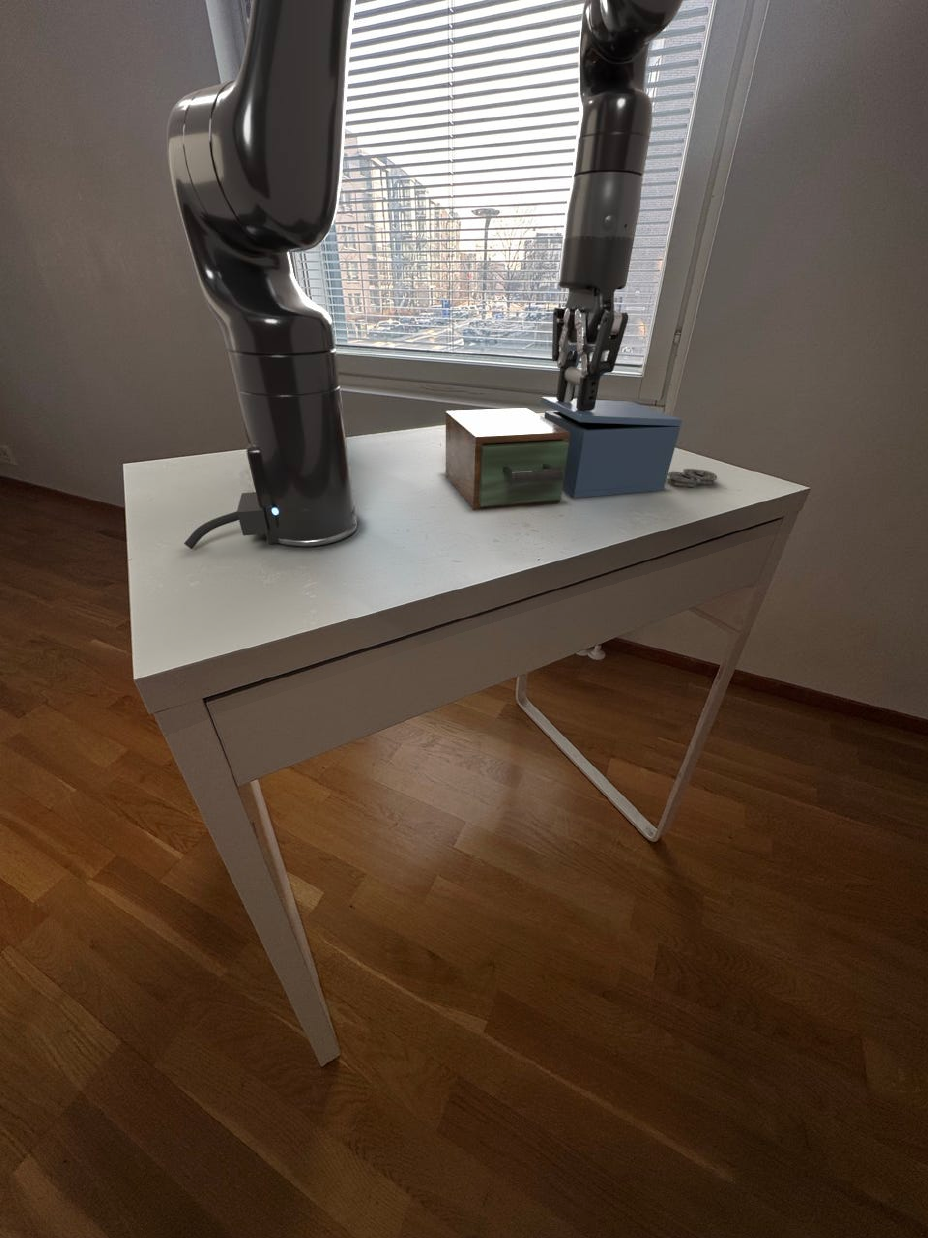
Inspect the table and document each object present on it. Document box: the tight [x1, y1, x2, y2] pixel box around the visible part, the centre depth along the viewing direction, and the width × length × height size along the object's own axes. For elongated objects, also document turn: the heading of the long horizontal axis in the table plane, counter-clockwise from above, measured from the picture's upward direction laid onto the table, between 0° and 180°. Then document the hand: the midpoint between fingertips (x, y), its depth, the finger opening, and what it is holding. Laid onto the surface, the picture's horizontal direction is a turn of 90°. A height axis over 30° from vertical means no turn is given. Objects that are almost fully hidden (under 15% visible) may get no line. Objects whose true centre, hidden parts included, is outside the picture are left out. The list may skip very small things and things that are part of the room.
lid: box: [540, 367, 683, 427], centre depth 61 cm, size 14×12×5 cm
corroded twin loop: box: [667, 468, 718, 488], centre depth 67 cm, size 5×8×1 cm, turn 117°
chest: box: [543, 410, 681, 499], centre depth 65 cm, size 14×12×8 cm
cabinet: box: [445, 407, 570, 511], centre depth 62 cm, size 14×12×9 cm
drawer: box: [478, 440, 569, 506], centre depth 59 cm, size 16×10×7 cm, turn 16°
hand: (574, 404), depth 61 cm, fingers closed on lid, 5 cm apart
